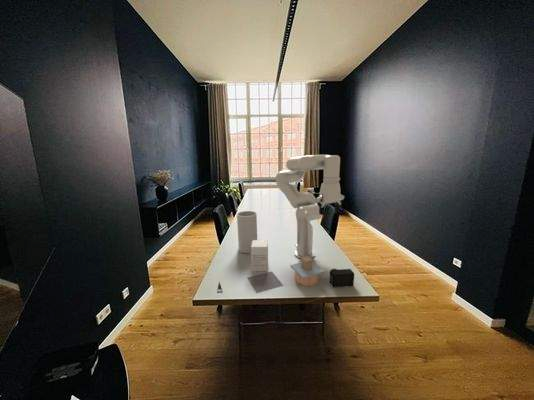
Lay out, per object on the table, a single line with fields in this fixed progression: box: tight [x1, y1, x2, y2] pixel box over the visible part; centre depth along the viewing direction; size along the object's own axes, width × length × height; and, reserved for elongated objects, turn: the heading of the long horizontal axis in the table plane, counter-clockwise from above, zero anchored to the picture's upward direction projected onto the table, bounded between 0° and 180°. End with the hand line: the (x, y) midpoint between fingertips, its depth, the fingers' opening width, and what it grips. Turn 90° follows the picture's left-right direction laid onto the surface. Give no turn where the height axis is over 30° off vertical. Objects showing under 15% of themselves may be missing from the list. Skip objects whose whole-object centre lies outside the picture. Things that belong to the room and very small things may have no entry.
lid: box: [290, 257, 325, 279], centre depth 109 cm, size 12×12×6 cm
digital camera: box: [329, 268, 355, 289], centre depth 107 cm, size 10×5×7 cm, turn 95°
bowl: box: [294, 271, 319, 287], centre depth 111 cm, size 11×11×6 cm
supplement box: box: [250, 239, 269, 272], centre depth 122 cm, size 9×9×15 cm
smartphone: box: [216, 281, 224, 293], centre depth 111 cm, size 7×1×15 cm
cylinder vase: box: [236, 210, 258, 254], centre depth 144 cm, size 12×12×25 cm
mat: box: [246, 271, 285, 294], centre depth 110 cm, size 14×14×1 cm
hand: (329, 213), depth 114 cm, fingers open, 9 cm apart
